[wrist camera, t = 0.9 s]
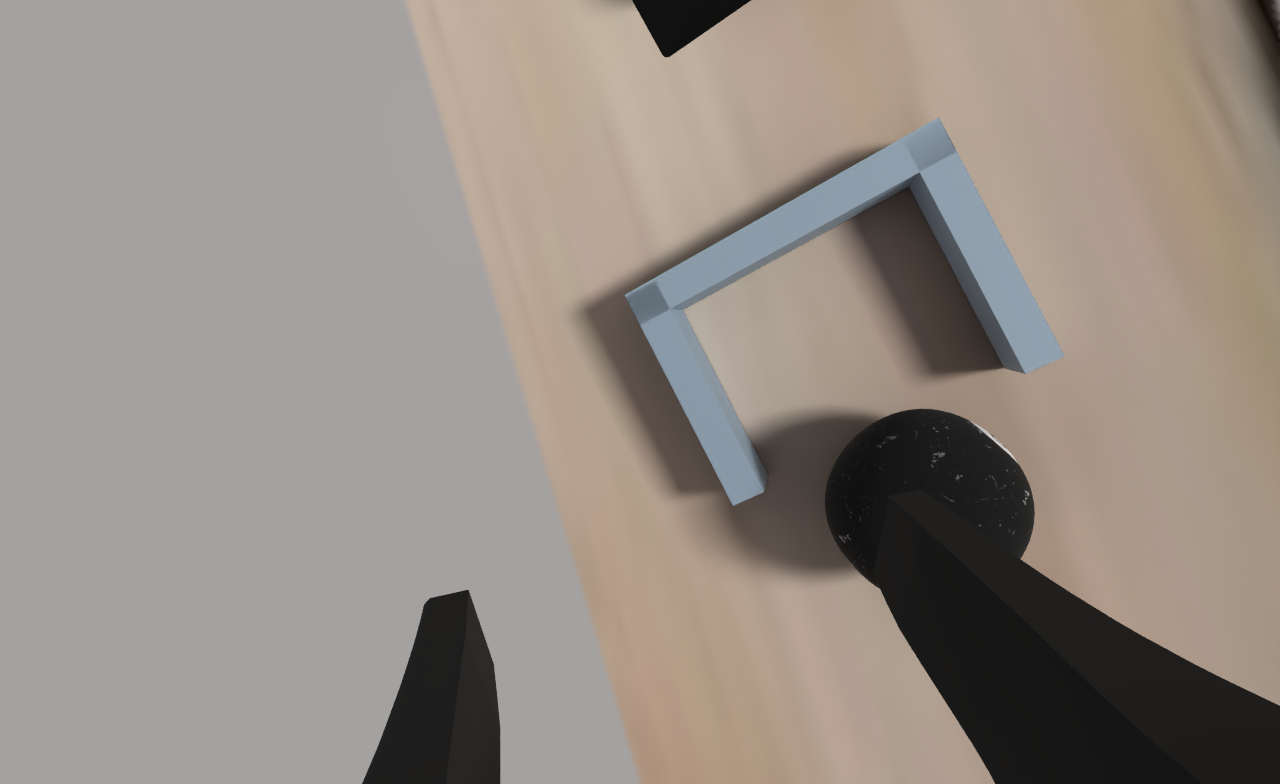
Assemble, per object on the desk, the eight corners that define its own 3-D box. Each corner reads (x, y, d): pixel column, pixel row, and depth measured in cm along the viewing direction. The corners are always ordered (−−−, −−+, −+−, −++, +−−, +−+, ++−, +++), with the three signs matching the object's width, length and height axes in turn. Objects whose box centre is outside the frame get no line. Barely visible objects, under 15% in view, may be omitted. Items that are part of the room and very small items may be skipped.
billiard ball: (791, 482, 26) (785, 529, 21) (909, 366, 25) (939, 381, 19) (913, 596, 26) (942, 677, 20) (1041, 484, 24) (1113, 536, 18)
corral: (1039, 352, 24) (1064, 356, 21) (740, 489, 27) (732, 506, 24) (926, 137, 24) (938, 117, 22) (641, 297, 27) (624, 295, 24)
